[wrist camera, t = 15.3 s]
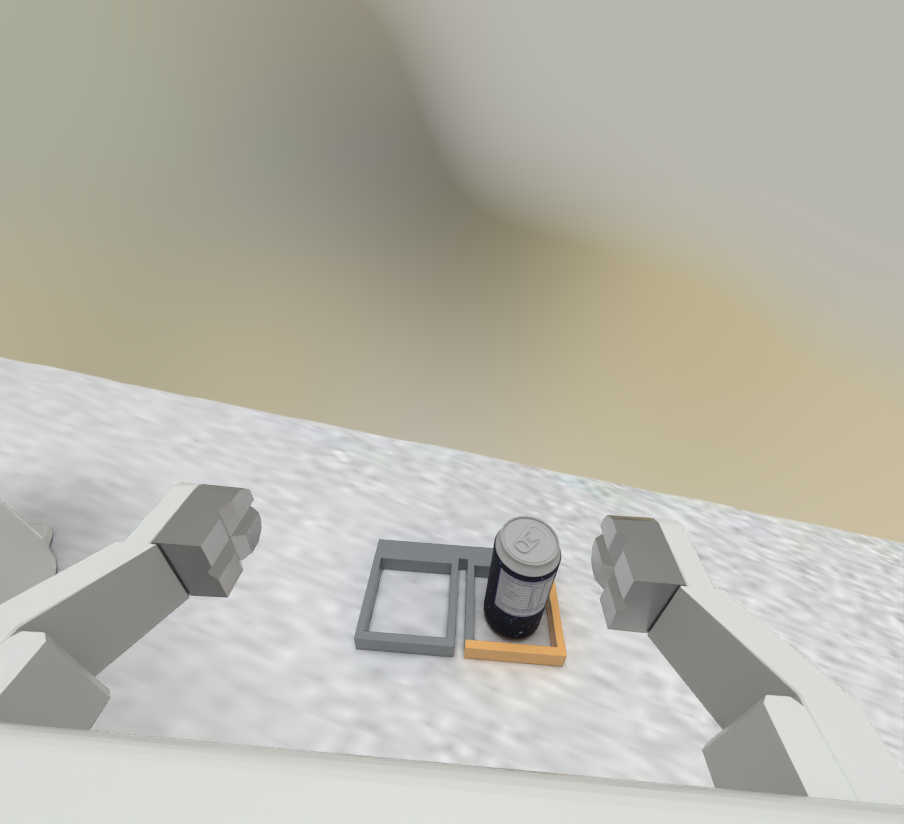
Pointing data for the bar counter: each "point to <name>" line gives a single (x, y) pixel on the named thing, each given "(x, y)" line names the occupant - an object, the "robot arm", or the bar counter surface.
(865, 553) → the bar counter surface
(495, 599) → the beverage can
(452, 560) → the divided rectangular frame
